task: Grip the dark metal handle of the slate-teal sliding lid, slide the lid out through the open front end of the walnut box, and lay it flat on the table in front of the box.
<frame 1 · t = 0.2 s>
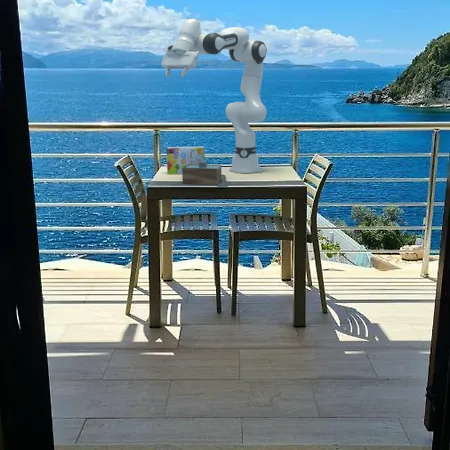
hand: (174, 76, 280), 54 cm above the table, tool tilted 30°, fingers open, 8 cm apart
snack box: (186, 173, 330), on the table
walnut box: (202, 182, 304), on the table
lid: (202, 168, 302), point 7 cm above the table, touching walnut box
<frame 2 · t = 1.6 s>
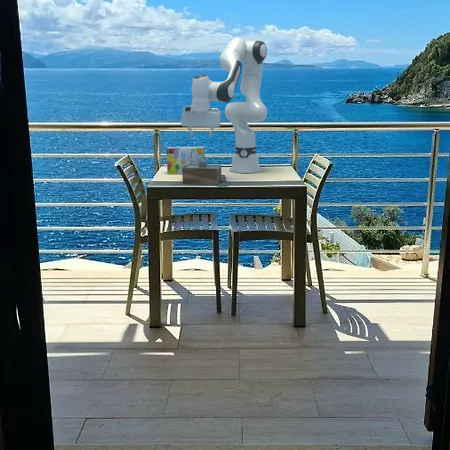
hand: (200, 135, 297), 24 cm above the table, tool pointing down, fingers open, 8 cm apart
nothing on the table moved.
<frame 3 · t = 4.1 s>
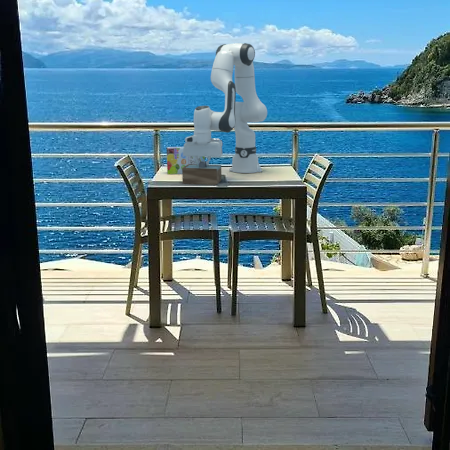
hand: (202, 165, 302), 9 cm above the table, tool pointing down, fingers closed on lid, 3 cm apart
lid: (203, 168, 302), point 7 cm above the table, touching gripper, walnut box
everything else where it was.
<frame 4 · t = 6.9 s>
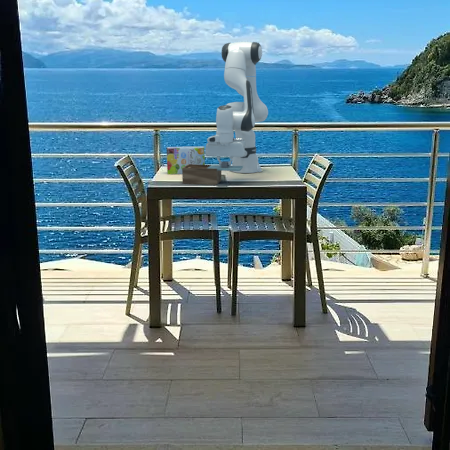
hand: (225, 165, 300), 9 cm above the table, tool pointing down, fingers closed on lid, 3 cm apart
lid: (225, 168, 300), point 7 cm above the table, touching gripper
everything else where it was.
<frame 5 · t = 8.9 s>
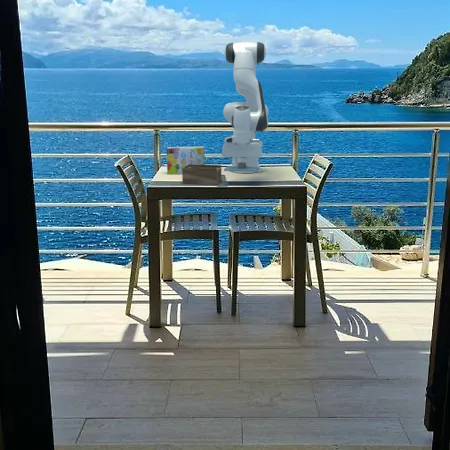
hand: (242, 166, 298), 9 cm above the table, tool pointing down, fingers closed on lid, 3 cm apart
lid: (242, 169, 298), point 7 cm above the table, touching gripper
everything else where it was.
when the fingers open (3 cm above the table, at t = 10.0 s): lid drops 2 cm, on the table.
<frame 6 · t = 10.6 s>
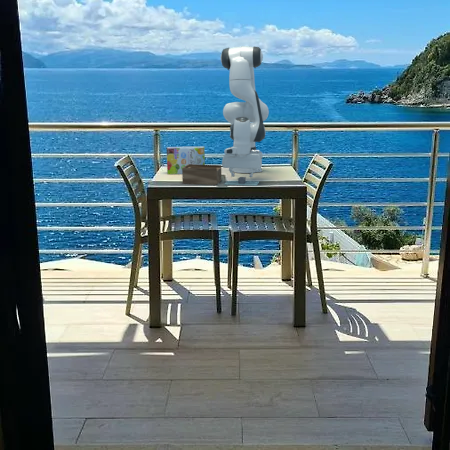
hand: (241, 176, 299), 3 cm above the table, tool pointing down, fingers open, 8 cm apart
lid: (241, 184, 300), on the table
everything else where it was.
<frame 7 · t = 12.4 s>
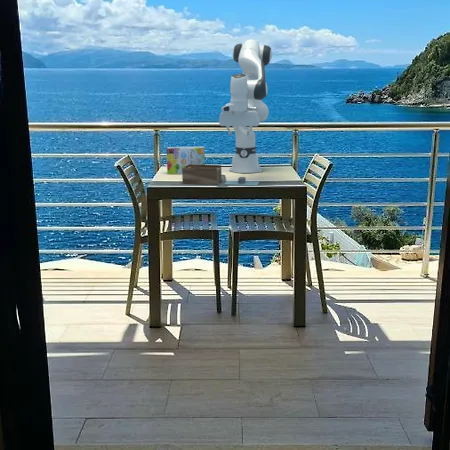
hand: (239, 134, 296), 25 cm above the table, tool pointing down, fingers open, 8 cm apart
nothing on the table moved.
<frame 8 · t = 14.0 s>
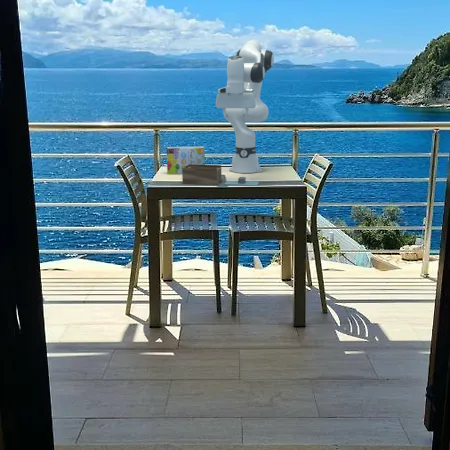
hand: (235, 117, 296), 33 cm above the table, tool pointing down, fingers open, 8 cm apart
nothing on the table moved.
at the end: lid inside the target area (0.5 cm from its centre), on the table; lid tilted 0°; the gripper is holding nothing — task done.
